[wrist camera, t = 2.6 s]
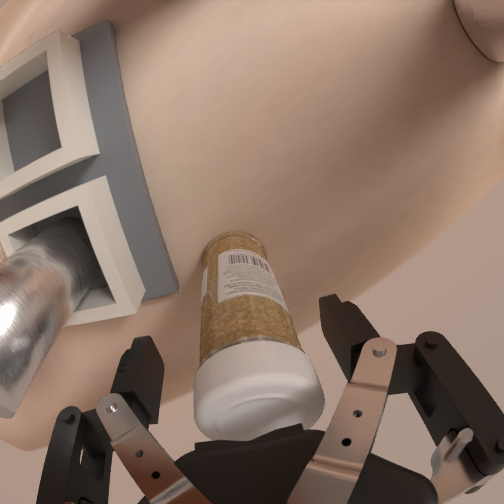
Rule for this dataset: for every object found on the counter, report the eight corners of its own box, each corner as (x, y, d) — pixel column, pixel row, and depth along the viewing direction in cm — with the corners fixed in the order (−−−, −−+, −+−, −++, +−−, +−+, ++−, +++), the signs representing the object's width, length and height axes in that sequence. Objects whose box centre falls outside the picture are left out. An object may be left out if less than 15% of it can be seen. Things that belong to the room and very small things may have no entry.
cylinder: (91, 207, 17) (-41, 316, 5) (115, 274, 19) (37, 423, 7) (39, 227, 17) (-81, 327, 5) (64, 287, 19) (-22, 412, 7)
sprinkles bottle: (191, 268, 21) (170, 434, 8) (226, 216, 20) (245, 359, 7) (243, 297, 22) (272, 460, 10) (280, 251, 21) (354, 400, 9)
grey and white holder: (112, 23, 13) (91, 3, 10) (179, 285, 21) (172, 317, 17) (-17, 100, 13) (-47, 101, 9) (49, 313, 21) (30, 340, 17)
